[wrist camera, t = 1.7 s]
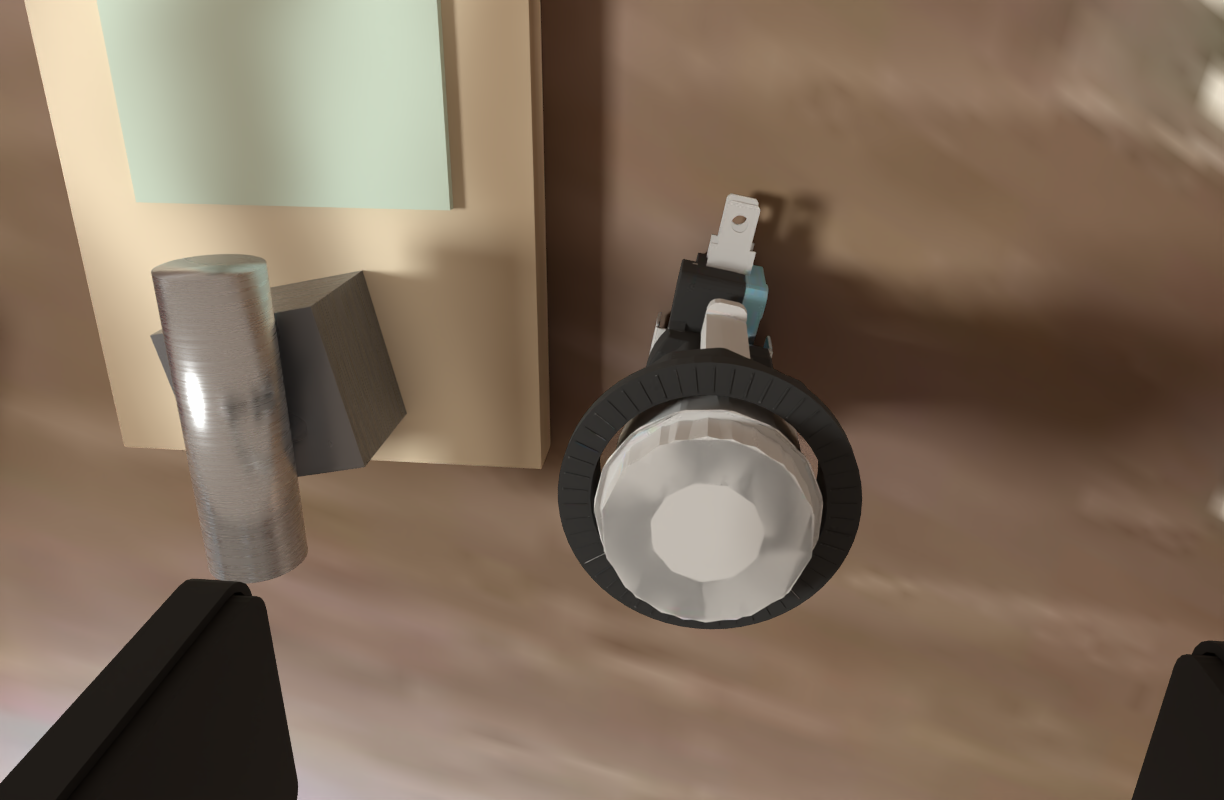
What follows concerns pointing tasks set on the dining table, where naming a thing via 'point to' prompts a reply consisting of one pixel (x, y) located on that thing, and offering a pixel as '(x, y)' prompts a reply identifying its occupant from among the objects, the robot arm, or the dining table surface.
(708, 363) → the push button
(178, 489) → the dining table surface
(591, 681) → the dining table surface
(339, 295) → the cylinder and cube
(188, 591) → the robot arm
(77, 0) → the board
